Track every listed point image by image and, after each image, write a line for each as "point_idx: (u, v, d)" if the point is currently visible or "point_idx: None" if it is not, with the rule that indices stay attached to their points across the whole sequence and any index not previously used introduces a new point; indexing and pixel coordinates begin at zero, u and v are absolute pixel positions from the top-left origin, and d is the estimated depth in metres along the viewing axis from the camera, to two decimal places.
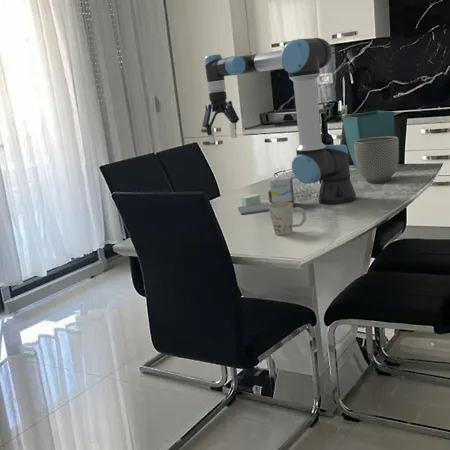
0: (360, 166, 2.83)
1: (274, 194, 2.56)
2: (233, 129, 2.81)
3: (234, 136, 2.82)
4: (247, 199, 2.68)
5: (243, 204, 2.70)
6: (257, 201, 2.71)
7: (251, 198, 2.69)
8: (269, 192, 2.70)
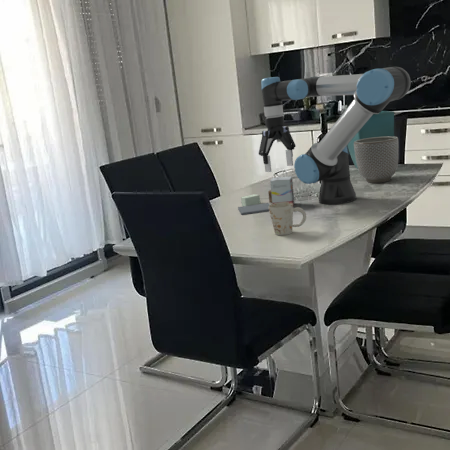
0: (360, 166, 2.83)
1: (274, 194, 2.56)
2: (289, 156, 2.60)
3: (290, 164, 2.61)
4: (247, 199, 2.68)
5: (243, 204, 2.70)
6: (257, 202, 2.70)
7: (251, 198, 2.69)
8: (269, 192, 2.70)
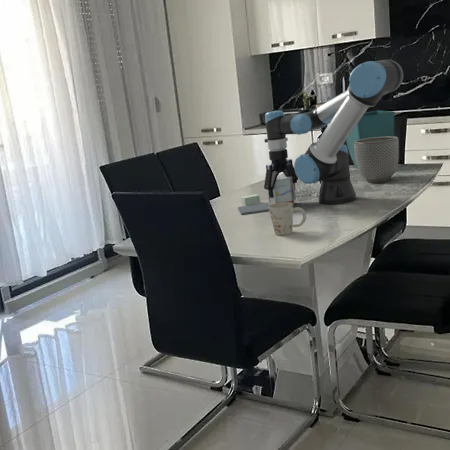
0: (360, 166, 2.83)
1: None
2: None
3: None
4: (246, 199, 2.68)
5: (243, 204, 2.70)
6: (257, 202, 2.70)
7: (250, 198, 2.69)
8: None
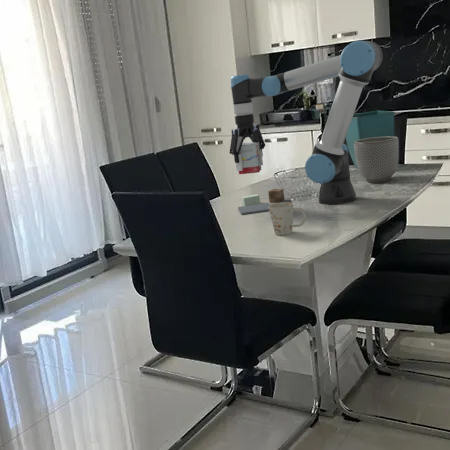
0: (360, 166, 2.83)
1: None
2: None
3: None
4: (245, 199, 2.68)
5: (243, 203, 2.71)
6: (256, 202, 2.70)
7: (250, 198, 2.69)
8: (269, 192, 2.70)
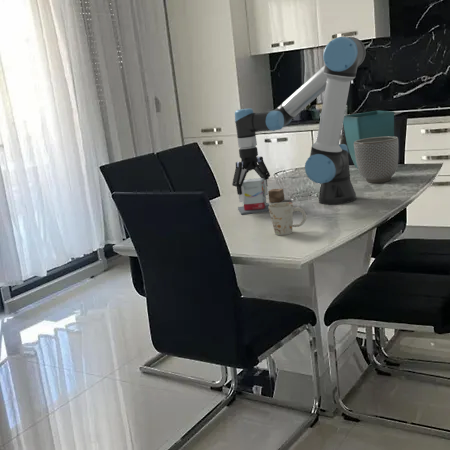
0: (360, 166, 2.83)
1: (245, 196, 2.56)
2: None
3: (265, 193, 2.63)
4: None
5: (242, 203, 2.71)
6: None
7: None
8: (269, 192, 2.70)
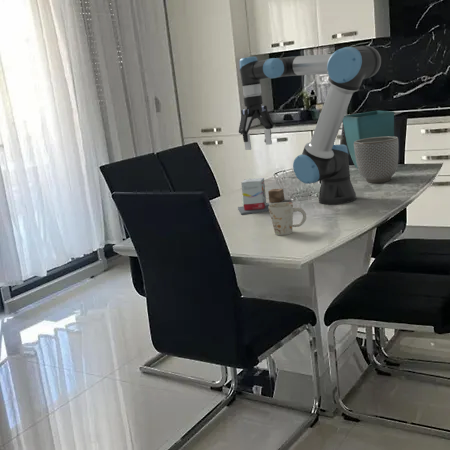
0: (360, 166, 2.83)
1: (245, 196, 2.56)
2: (268, 135, 2.66)
3: (269, 143, 2.67)
4: None
5: (242, 203, 2.71)
6: None
7: None
8: (269, 192, 2.70)
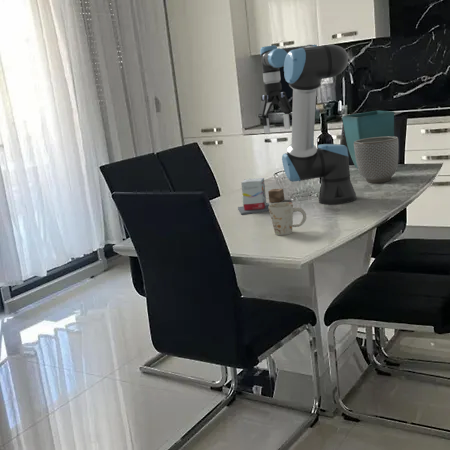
0: (360, 166, 2.83)
1: (245, 196, 2.56)
2: (286, 120, 2.83)
3: (287, 127, 2.83)
4: None
5: None
6: None
7: None
8: (269, 192, 2.70)
